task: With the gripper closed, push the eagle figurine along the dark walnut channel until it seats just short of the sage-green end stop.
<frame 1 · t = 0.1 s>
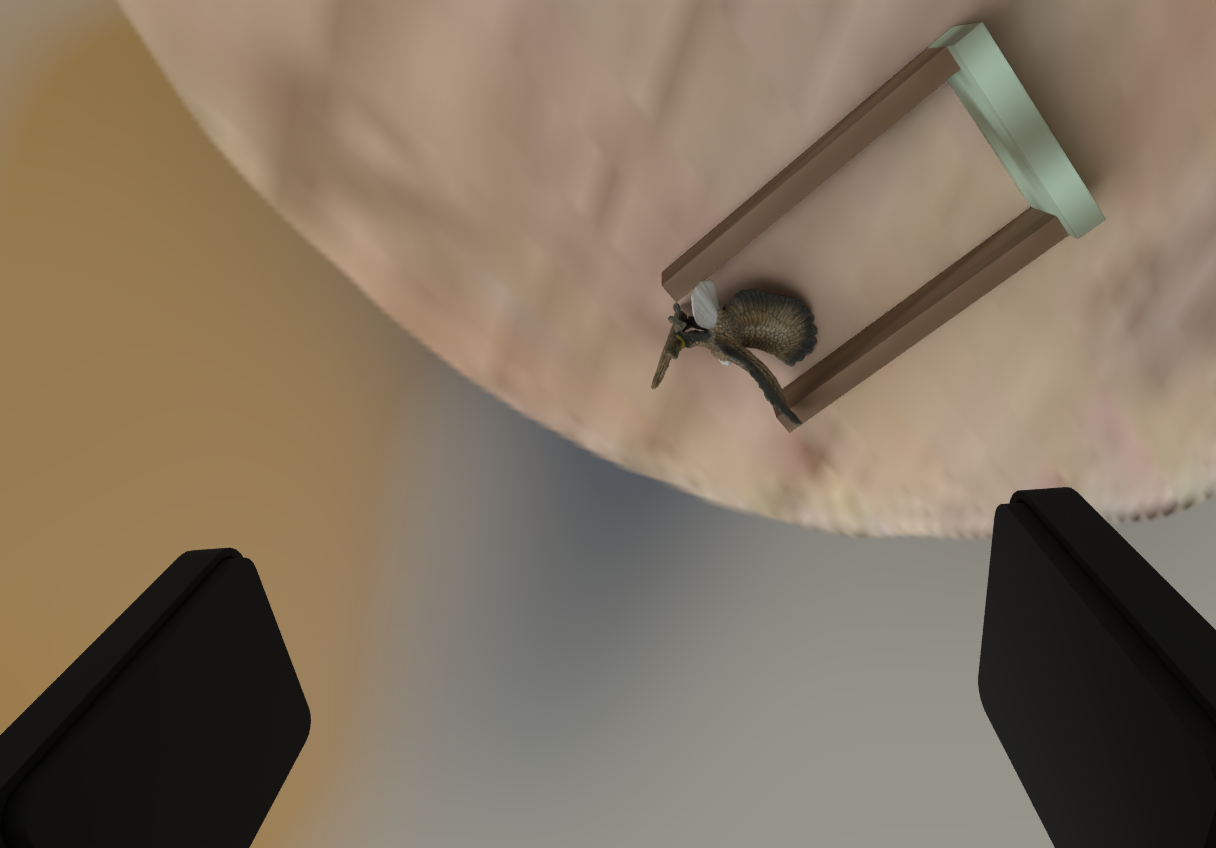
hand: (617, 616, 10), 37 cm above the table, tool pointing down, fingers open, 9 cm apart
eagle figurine: (737, 331, 47), on the table, touching walnut guide
walnut guide: (846, 249, 44), on the table
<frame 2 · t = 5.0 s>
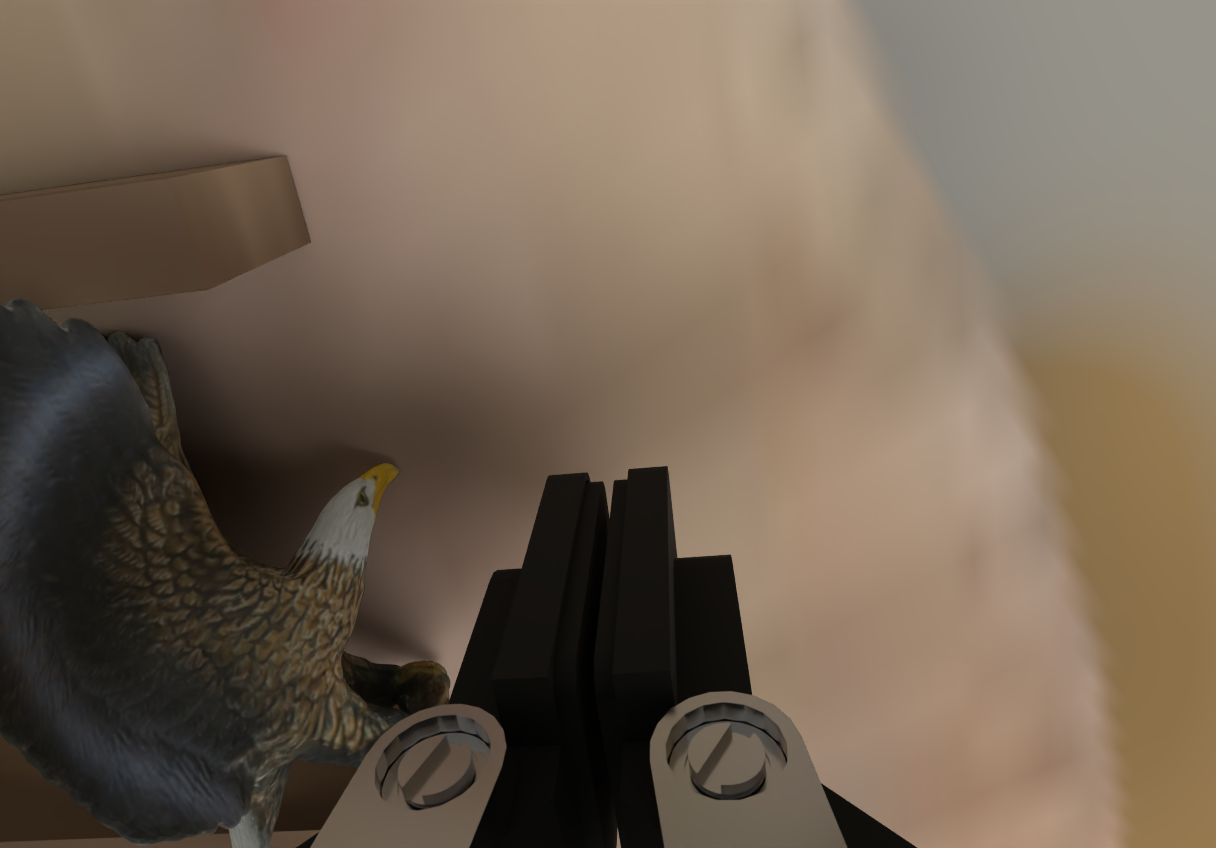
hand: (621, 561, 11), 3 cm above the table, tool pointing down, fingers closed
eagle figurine: (308, 517, 14), on the table, touching gripper
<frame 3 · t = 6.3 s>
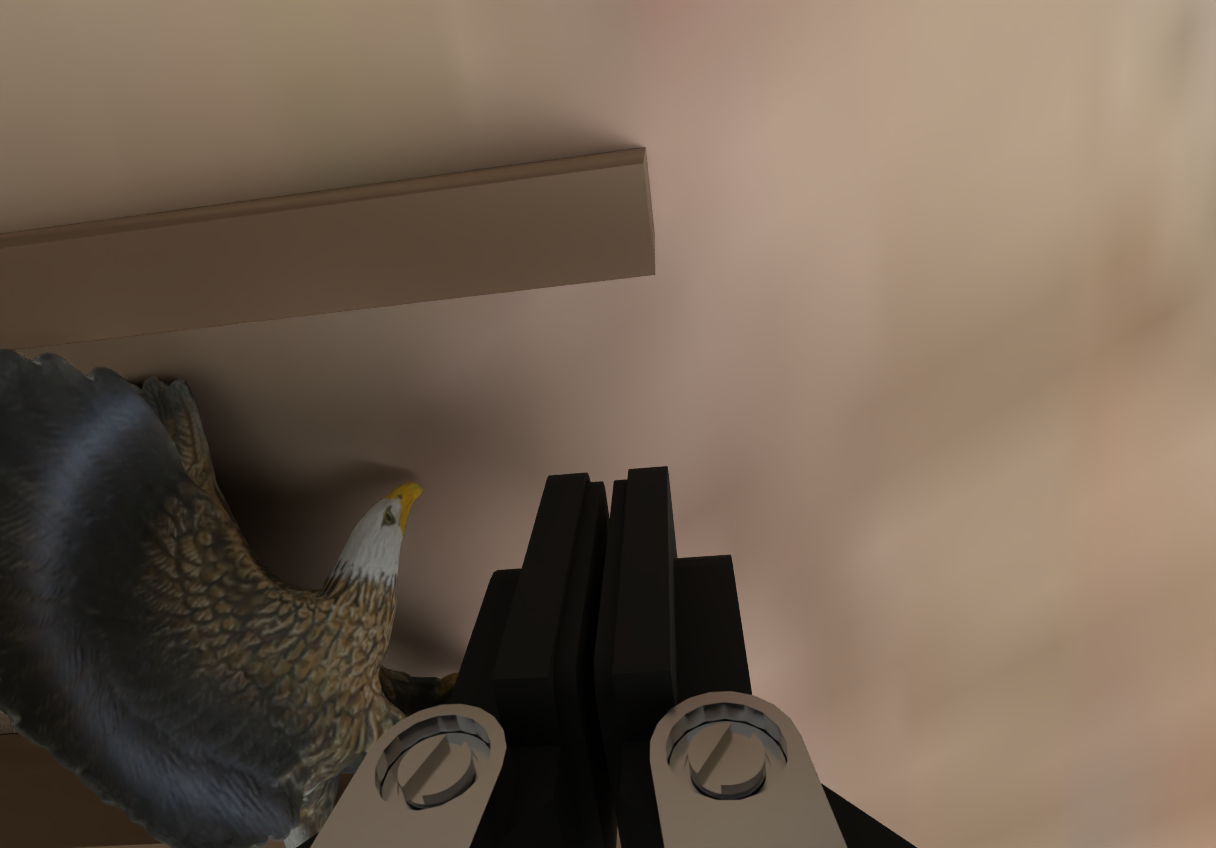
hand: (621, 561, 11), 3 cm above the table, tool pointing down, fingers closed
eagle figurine: (342, 539, 15), on the table, touching gripper
walnut guide: (219, 533, 15), on the table
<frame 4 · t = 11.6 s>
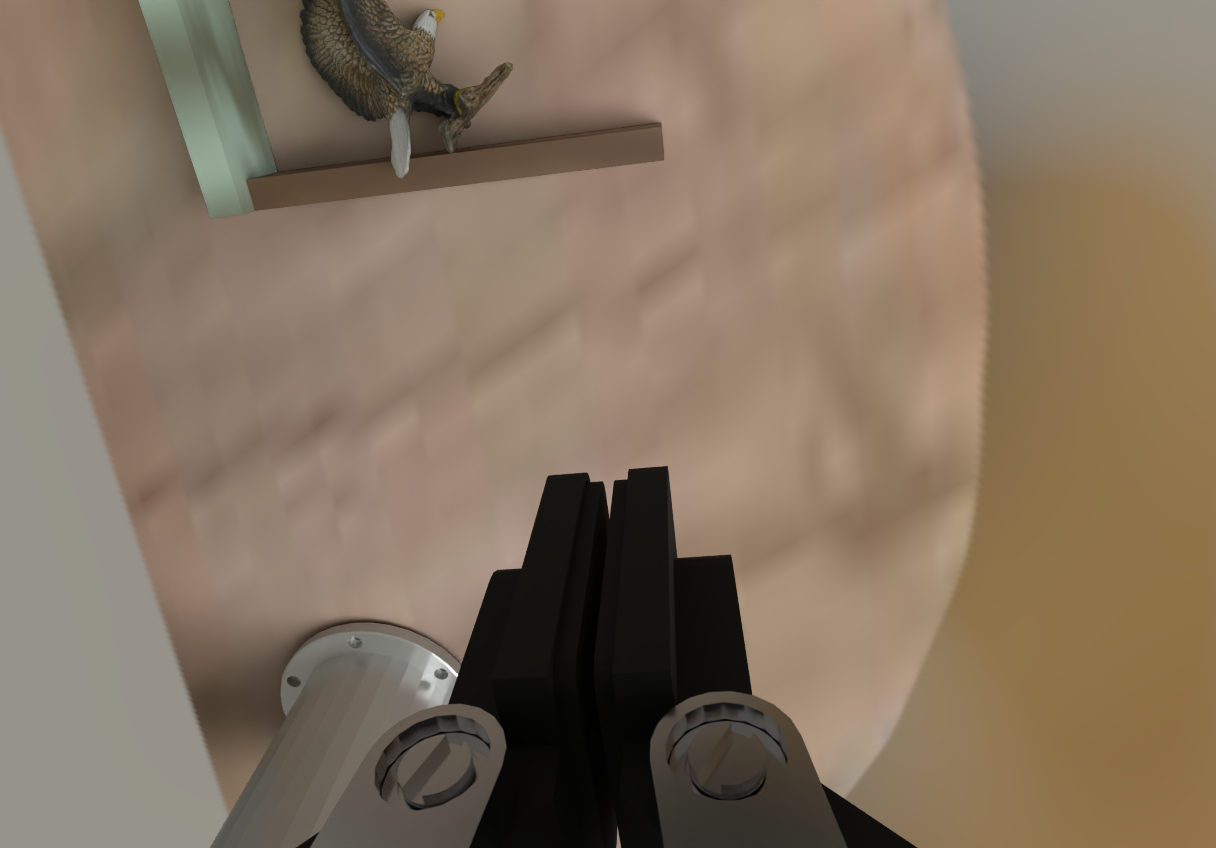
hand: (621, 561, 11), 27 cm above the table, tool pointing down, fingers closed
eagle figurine: (407, 48, 33), on the table, touching walnut guide
walnut guide: (442, 32, 32), on the table
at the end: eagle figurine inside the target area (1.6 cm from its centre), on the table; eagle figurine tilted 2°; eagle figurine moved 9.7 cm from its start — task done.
